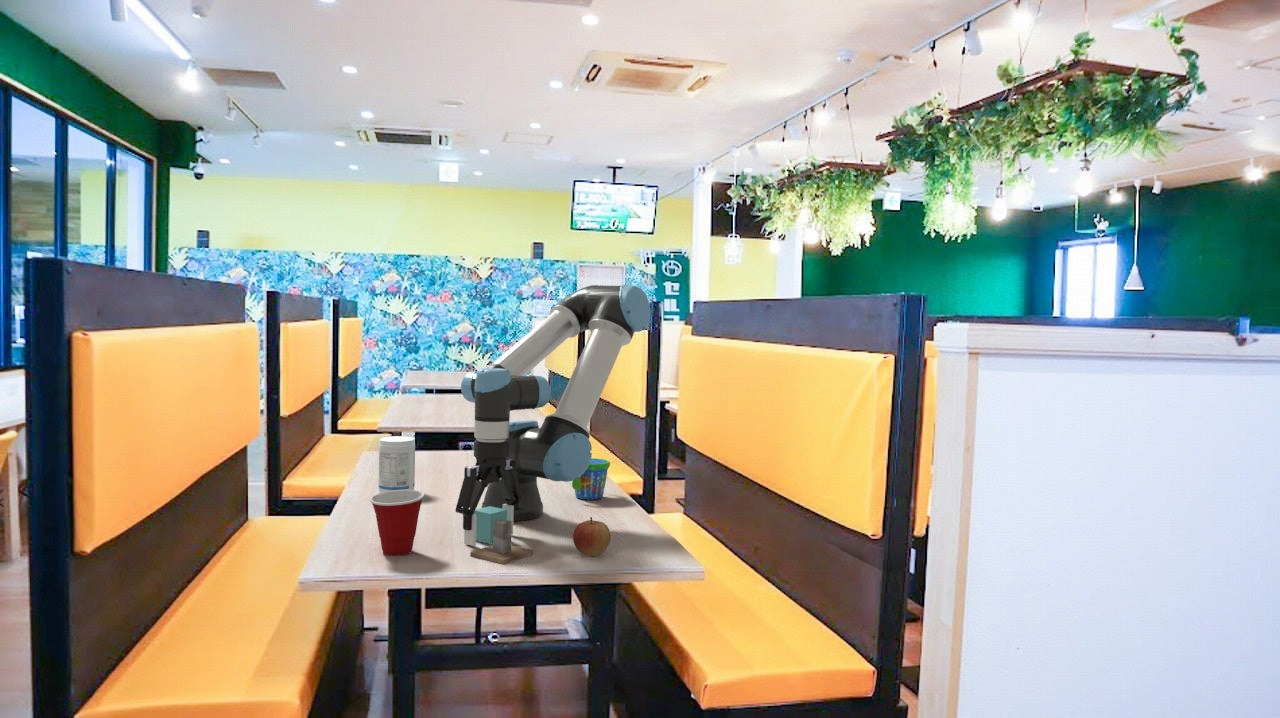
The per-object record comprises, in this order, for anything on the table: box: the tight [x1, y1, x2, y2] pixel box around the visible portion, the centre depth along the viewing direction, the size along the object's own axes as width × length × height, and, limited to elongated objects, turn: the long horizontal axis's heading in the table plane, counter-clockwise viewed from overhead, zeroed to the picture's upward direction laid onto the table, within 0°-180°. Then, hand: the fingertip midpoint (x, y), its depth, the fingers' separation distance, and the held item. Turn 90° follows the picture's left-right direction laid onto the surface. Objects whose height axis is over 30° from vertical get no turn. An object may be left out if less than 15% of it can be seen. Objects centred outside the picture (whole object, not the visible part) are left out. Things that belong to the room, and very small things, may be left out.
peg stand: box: [469, 519, 534, 565], centre depth 172 cm, size 9×9×7 cm
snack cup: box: [571, 457, 611, 501], centre depth 229 cm, size 16×10×10 cm
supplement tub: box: [378, 435, 416, 493], centre depth 229 cm, size 10×10×15 cm
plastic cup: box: [369, 489, 425, 557], centre depth 172 cm, size 11×11×12 cm
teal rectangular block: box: [474, 506, 507, 545], centre depth 184 cm, size 5×5×7 cm
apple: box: [572, 516, 612, 557], centre depth 175 cm, size 8×8×8 cm
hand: (489, 539), depth 184 cm, fingers open, 11 cm apart
